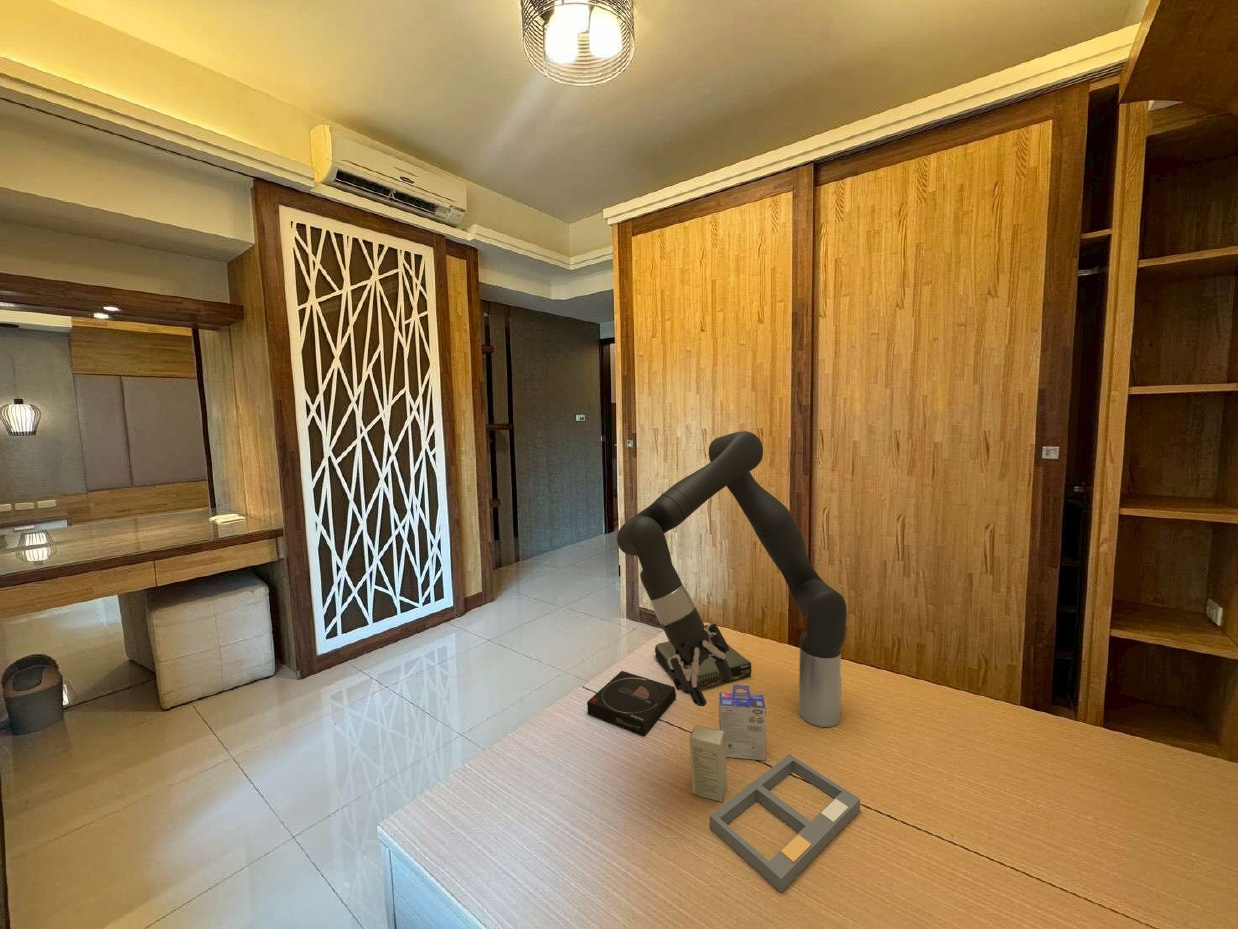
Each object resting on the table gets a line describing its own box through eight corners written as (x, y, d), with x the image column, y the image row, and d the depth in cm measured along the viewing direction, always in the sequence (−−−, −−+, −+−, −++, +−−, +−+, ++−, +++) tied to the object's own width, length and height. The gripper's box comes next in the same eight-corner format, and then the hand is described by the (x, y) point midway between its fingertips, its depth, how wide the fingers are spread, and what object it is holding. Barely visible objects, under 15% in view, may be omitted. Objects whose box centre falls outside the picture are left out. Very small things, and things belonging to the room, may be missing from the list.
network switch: (691, 701, 125) (691, 683, 124) (646, 661, 145) (645, 645, 145) (758, 676, 135) (758, 659, 135) (707, 641, 156) (707, 627, 155)
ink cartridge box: (763, 744, 107) (763, 683, 106) (767, 761, 102) (767, 698, 100) (719, 740, 109) (718, 681, 108) (720, 757, 104) (719, 695, 102)
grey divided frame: (789, 764, 101) (789, 752, 101) (860, 811, 89) (860, 797, 89) (709, 828, 87) (709, 814, 86) (781, 893, 74) (781, 877, 74)
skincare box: (727, 787, 96) (726, 731, 94) (722, 803, 92) (721, 745, 90) (696, 778, 98) (695, 723, 97) (690, 793, 94) (689, 736, 93)
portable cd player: (676, 700, 126) (675, 686, 125) (644, 738, 111) (643, 723, 111) (623, 682, 134) (623, 669, 134) (587, 716, 120) (587, 701, 120)
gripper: (686, 598, 100) (722, 671, 98) (640, 633, 90) (679, 714, 89) (711, 593, 94) (750, 670, 92) (665, 629, 85) (707, 715, 83)
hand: (715, 691), depth 91 cm, fingers open, 8 cm apart
